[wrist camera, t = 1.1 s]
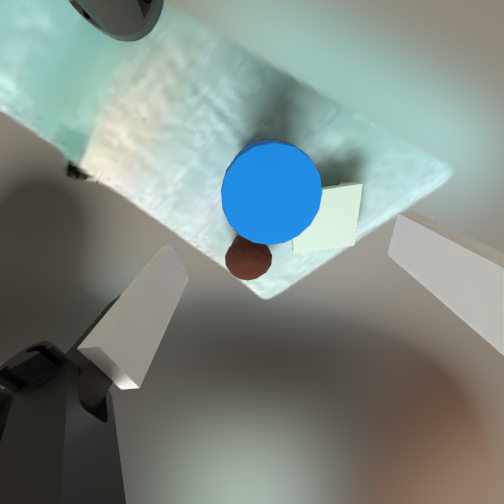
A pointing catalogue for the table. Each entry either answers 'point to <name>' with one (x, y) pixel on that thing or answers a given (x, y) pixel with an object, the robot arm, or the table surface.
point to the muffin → (248, 259)
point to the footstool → (332, 219)
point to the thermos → (271, 192)
